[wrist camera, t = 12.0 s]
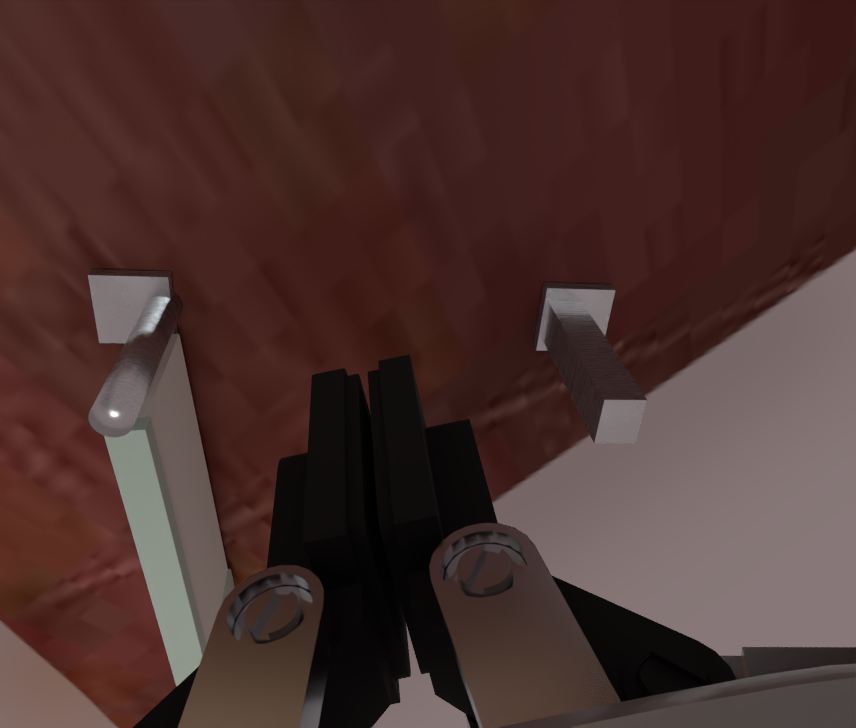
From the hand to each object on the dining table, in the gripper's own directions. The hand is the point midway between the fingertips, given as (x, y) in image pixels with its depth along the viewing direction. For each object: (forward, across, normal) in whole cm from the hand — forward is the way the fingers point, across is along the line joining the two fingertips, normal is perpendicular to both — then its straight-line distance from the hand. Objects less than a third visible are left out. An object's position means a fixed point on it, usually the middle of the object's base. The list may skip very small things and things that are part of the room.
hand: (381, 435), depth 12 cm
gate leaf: (+26, +14, +19) cm, 35 cm away
